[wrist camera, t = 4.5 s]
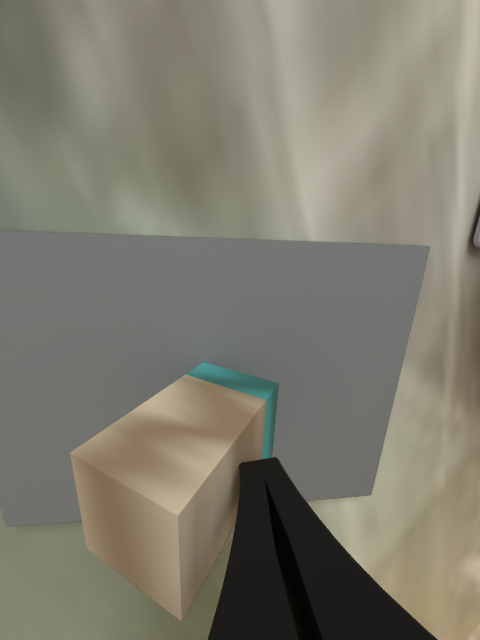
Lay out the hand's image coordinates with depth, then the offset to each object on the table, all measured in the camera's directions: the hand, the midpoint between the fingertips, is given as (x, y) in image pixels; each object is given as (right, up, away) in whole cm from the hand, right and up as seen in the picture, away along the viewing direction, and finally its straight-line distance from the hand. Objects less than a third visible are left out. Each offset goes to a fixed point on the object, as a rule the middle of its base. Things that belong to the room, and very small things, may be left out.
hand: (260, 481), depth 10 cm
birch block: (-1, +1, +4) cm, 4 cm away
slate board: (-3, +2, +6) cm, 7 cm away
